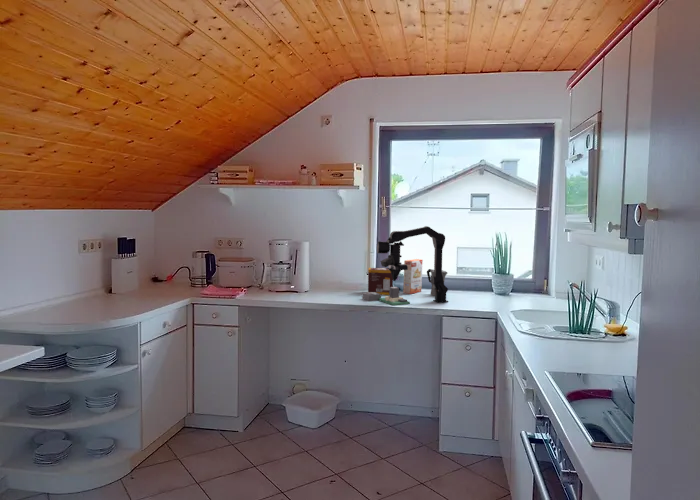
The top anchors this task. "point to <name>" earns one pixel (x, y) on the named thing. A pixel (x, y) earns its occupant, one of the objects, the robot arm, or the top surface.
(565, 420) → the top surface
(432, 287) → the coffeepot
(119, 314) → the top surface
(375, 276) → the supplement box
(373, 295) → the speaker
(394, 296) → the plug
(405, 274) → the cracker box
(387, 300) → the board
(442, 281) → the robot arm
